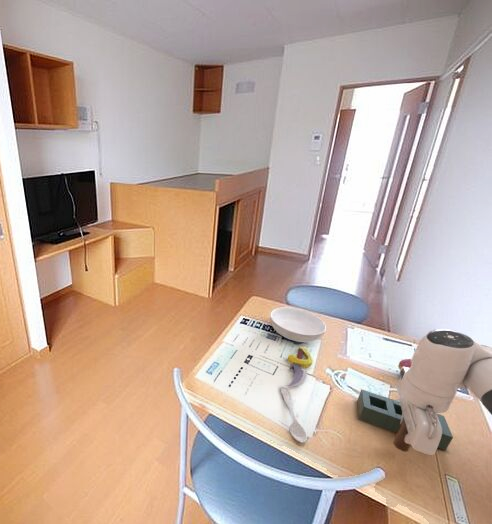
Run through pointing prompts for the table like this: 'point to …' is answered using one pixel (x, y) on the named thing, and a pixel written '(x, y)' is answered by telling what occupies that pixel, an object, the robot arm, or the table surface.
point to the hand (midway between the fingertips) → (406, 434)
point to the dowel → (401, 438)
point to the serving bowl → (297, 324)
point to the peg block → (391, 415)
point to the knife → (299, 365)
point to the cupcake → (405, 363)
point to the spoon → (294, 420)
